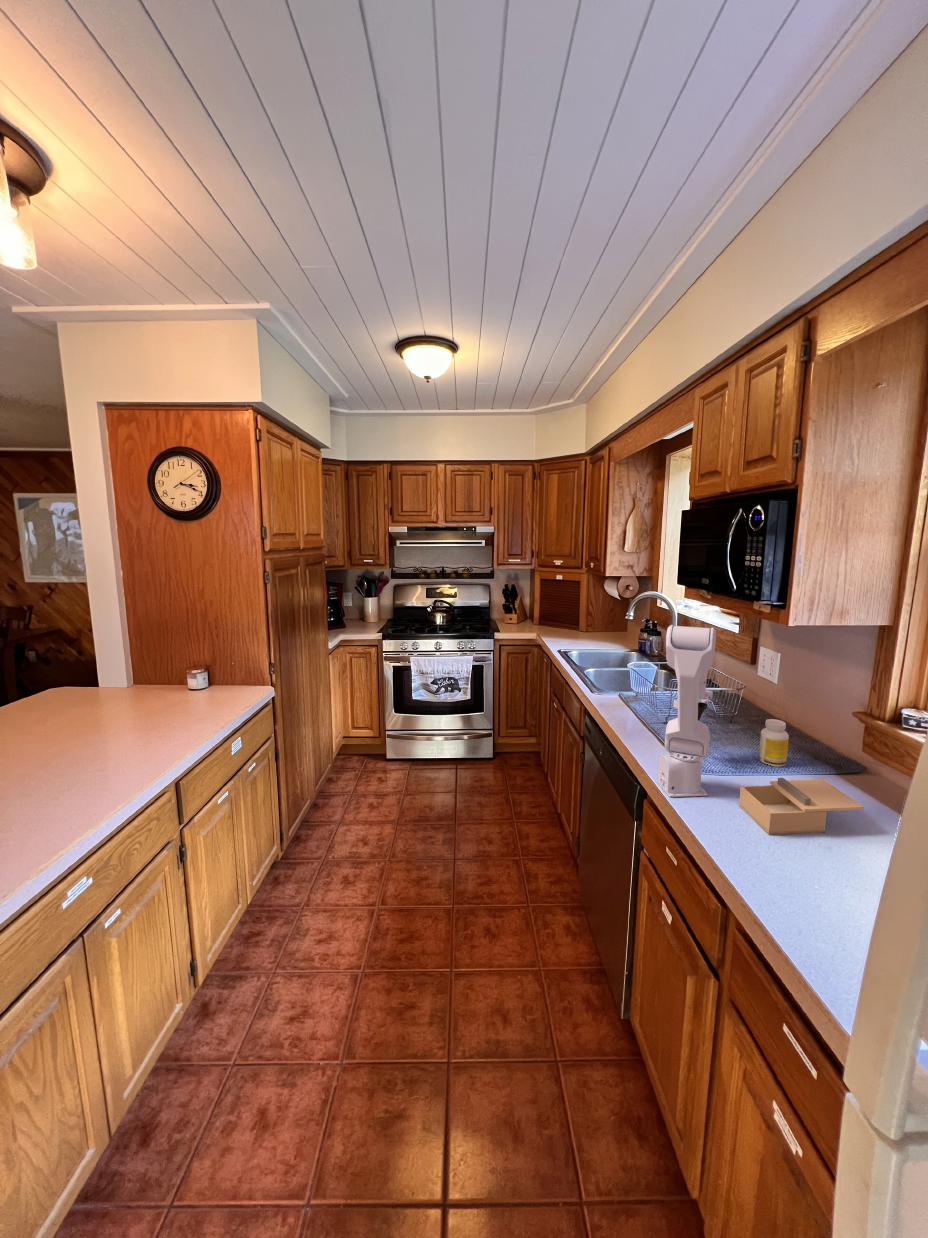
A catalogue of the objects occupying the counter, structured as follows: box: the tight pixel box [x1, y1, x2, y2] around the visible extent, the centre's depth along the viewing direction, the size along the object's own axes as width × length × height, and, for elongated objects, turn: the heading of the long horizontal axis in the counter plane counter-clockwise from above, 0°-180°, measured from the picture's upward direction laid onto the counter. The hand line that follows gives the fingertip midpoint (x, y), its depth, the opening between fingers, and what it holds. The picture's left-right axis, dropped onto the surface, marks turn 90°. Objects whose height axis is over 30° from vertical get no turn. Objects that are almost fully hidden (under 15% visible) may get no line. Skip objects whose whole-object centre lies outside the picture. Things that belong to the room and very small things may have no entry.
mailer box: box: [738, 784, 828, 836], centre depth 110 cm, size 12×11×5 cm
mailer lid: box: [769, 777, 865, 812], centre depth 109 cm, size 13×12×2 cm
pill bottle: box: [758, 718, 790, 768], centre depth 135 cm, size 6×6×12 cm
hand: (691, 727), depth 136 cm, fingers closed
